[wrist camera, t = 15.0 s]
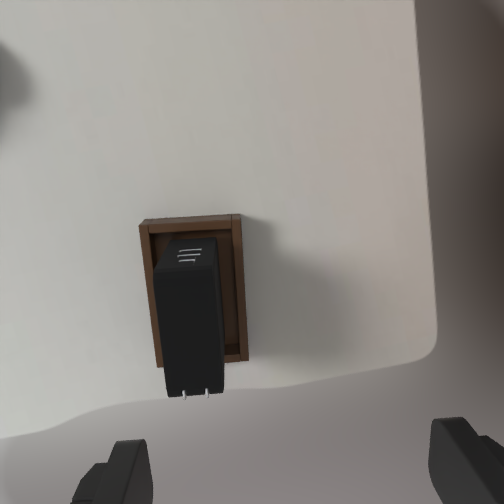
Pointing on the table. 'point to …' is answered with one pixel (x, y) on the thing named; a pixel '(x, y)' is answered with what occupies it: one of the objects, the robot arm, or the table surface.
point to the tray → (230, 262)
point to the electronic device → (190, 317)
